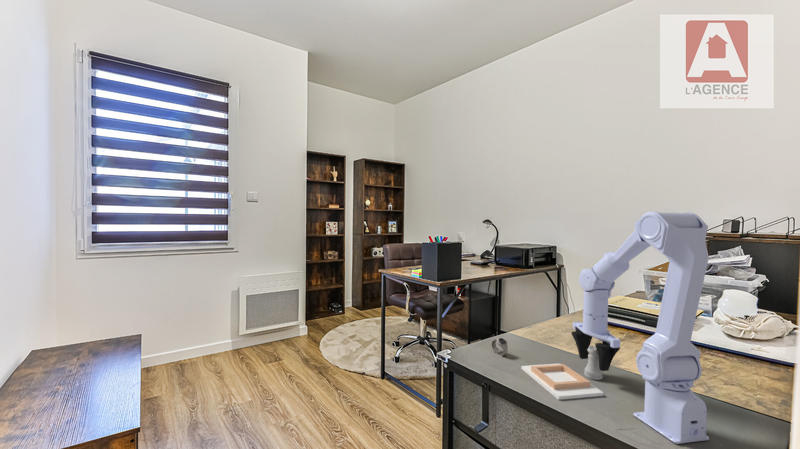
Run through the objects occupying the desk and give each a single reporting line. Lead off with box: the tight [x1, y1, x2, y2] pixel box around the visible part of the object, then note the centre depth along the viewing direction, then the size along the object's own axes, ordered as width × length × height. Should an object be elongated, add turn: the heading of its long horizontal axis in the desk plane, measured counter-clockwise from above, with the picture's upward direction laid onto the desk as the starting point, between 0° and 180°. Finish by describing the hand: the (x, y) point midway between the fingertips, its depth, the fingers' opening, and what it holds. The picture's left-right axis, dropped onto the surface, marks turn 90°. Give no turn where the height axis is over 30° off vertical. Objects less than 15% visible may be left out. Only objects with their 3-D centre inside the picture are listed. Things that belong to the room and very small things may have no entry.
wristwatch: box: [490, 337, 509, 357], centre depth 104 cm, size 4×6×5 cm, turn 22°
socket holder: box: [520, 363, 604, 401], centre depth 86 cm, size 16×12×2 cm
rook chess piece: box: [583, 345, 604, 381], centre depth 89 cm, size 4×4×8 cm
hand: (593, 364), depth 89 cm, fingers open, 7 cm apart
